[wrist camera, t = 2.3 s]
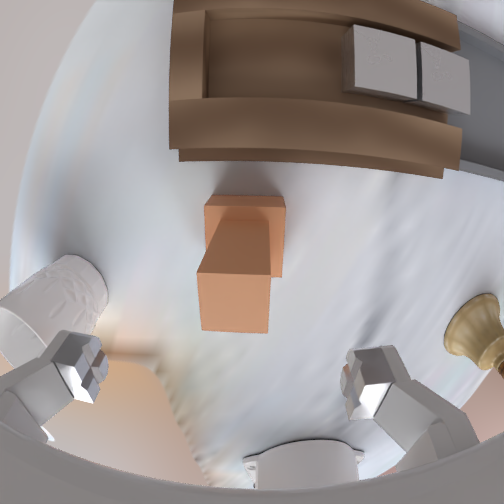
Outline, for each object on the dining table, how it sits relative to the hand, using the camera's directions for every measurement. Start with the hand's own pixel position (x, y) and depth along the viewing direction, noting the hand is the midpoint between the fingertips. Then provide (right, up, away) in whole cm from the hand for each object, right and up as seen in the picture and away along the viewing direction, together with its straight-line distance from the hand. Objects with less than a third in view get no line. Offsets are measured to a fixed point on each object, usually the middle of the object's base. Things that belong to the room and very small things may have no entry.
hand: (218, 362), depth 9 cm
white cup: (-15, 0, +16) cm, 22 cm away
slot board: (+6, +16, +8) cm, 19 cm away
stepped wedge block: (+1, +5, +13) cm, 14 cm away
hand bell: (+25, -5, +16) cm, 31 cm away
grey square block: (+13, +15, +6) cm, 21 cm away
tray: (+21, +16, +7) cm, 27 cm away
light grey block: (+9, +15, +7) cm, 19 cm away
